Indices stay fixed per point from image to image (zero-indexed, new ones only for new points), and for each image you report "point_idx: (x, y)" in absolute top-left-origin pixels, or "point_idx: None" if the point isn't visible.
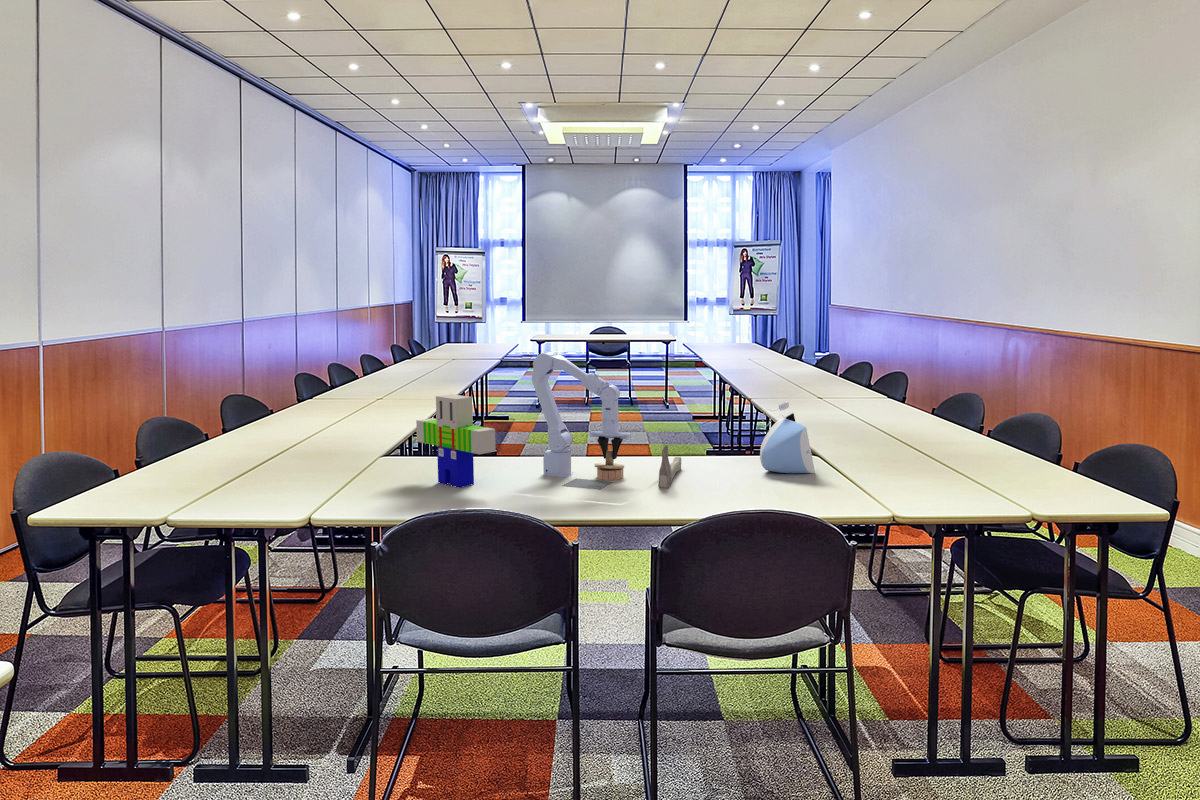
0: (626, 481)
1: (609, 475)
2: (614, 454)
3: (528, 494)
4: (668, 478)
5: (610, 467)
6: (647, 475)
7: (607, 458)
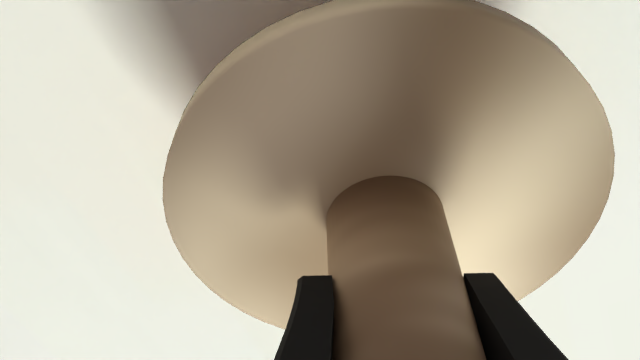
0: (137, 78)
1: None
2: (286, 335)
3: None
4: None
5: (279, 28)
6: (108, 334)
7: (417, 252)
